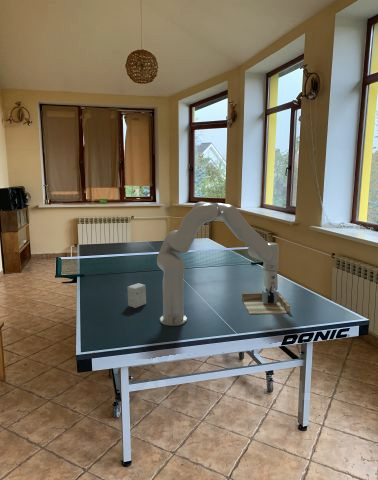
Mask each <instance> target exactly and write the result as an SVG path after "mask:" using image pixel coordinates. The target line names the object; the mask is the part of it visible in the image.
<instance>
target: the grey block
mask: <svg viewBox="0 0 378 480" xmlns="http://www.w3.org/2000/svg"><path fill="white" fill-rule="evenodd" d="M274 290H275V288H274ZM270 292H271V291H270ZM278 292H279V291H278V290H275V293H274V303H277V301H278ZM261 293H262V301H263V303H264V304H268V290H266V289H261Z"/></svg>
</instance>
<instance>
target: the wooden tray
mask: <svg viewBox="0 0 378 480" xmlns="http://www.w3.org/2000/svg"><path fill="white" fill-rule="evenodd" d="M277 292H278V301H277V303H268V304H264V303H263V301H262V292H242V293H241V301H242V302H243V305H244V307H245V309H246V310H247V312H248V315H273V314H274V315H277V314H278V315H279V314H291V305H290V303H289V301H287V300H286V299H285V298H284V296H283V295H282V294H281V293H280V292H279V291H277Z"/></svg>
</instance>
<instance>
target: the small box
mask: <svg viewBox="0 0 378 480" xmlns="http://www.w3.org/2000/svg"><path fill="white" fill-rule="evenodd" d="M126 288H127V302H128V303H127V305H128V307H132V308H134V309H136V308H140V307H141V306H144V305H146V304H147V290H146V289H147V288H146V284H142V283H139V282H138V283H135V284H131V285H129V286H127V287H126Z"/></svg>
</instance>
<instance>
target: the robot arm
mask: <svg viewBox="0 0 378 480" xmlns="http://www.w3.org/2000/svg"><path fill="white" fill-rule="evenodd" d="M213 221H220V222H221V221H222V222H223V223H224V224H225V225H226V227H228V229H229V230H230V232H231V233H232V234H233V235H234V236H235V238H237V239H238V240H240V241H241V242H242V243H244V244H246V245H247V246H248V247H247V253H248V255H249V256H250V257H251V258H254V259H256V260H259V261H260V262H261V261H262V262H263V264H262V265H263V266H262V270H263V271H264V275H263V276H264V277H263V285H264V287H265V290H268V303H274V293H275V290H276V291H278V289H279V288H278V286H279V285H278V284H279V282H278V280H279V278H278V277H279V276H278V271H279V261H280V260H279V259H280V257H279V255H280V245H279V243H276V242H267V241H266V239H265V238H263V236H261V235H260V234H259V233H258V232H257V231H256V230H255V229H254V228H253V227H251V225H250V224H249V223H248V222H247V220H246V219H245V217H244V216H243V215H242V214H241V212H240V211H239V210H238V209H237V208H236V207H235V205H232V204H229V203H228V204H227V203H221V202H210V201H209V202H208V201H207V202H206V201H198V202H196V203H194V204H193V205H192V208H191V210H190V211H188V212H187V213H186V214H185V215H184V216H183V218H182V220H181V222H180V225H178V228H177V229H175V230H170V231H169V233H167V234H166V236H165V238H164V240H163V241H162V242H163V243H162V244H161V247H160V250H159V252H158V254H157V257H156V264H157V267H158V268H159V269H160V270H161V271H163V277H162V312H163V313H162V315H161V316H160V317H159V322H160V323H161V324H162V325H165V326H171V327H175V326H176V327H177V326H182V325H184V324H185V323H186V322H187V321H188V317H187V316H186V315H184V313H185V312H184V309H185V308H184V278H185V277H184V276H185V268H186V267H185V262H184V260H183V259H182V257H180V256H179V255H180V254H182V255H183V254H186V253H188V252H189V251H190V250H191V248H192V245H193V244H194V243H193V242H194V240H195V238H196V237H197V234H198V231H199V230H200V229H201V227H202V226H203V225H204V224H206V223H209V222H213ZM274 289H275V290H274ZM270 291H271V292H270Z"/></svg>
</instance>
